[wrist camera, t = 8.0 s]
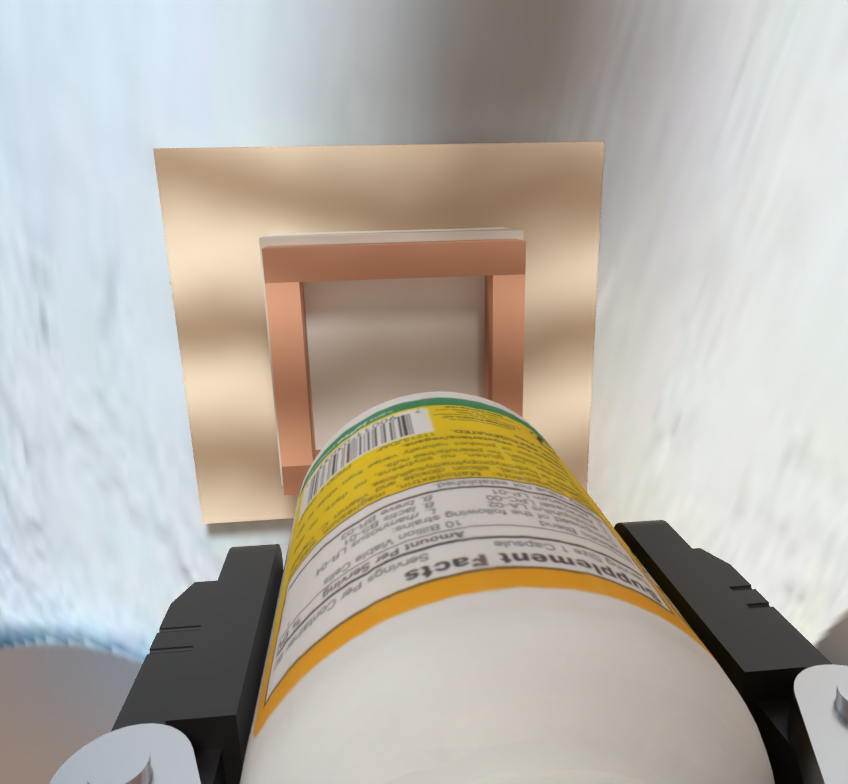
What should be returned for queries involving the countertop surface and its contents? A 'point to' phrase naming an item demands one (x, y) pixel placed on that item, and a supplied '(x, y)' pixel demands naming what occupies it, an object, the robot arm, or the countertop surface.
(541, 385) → the tower base
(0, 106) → the countertop surface
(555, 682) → the supplement bottle
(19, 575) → the countertop surface
